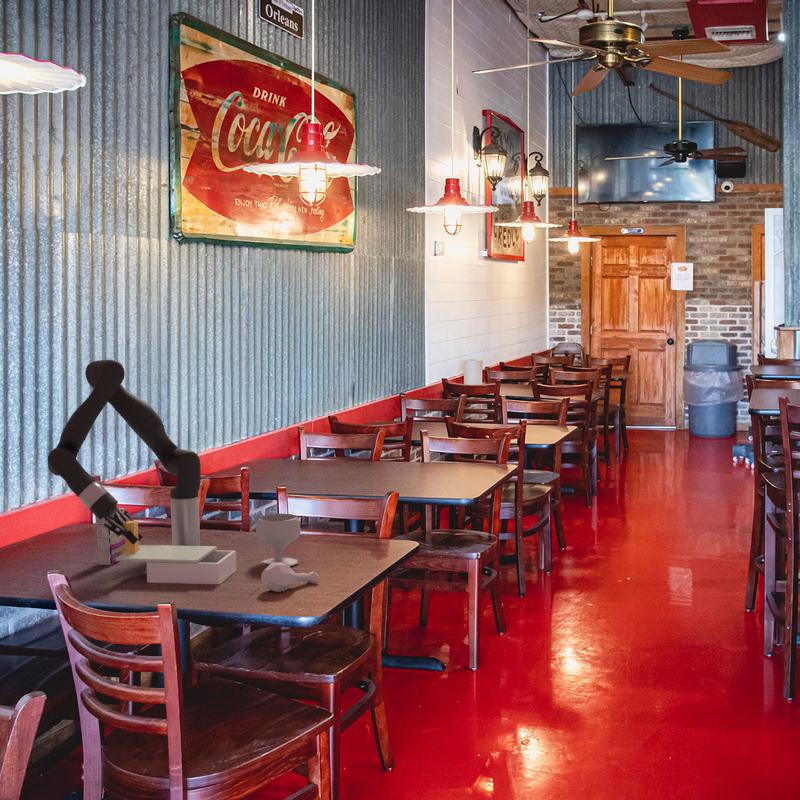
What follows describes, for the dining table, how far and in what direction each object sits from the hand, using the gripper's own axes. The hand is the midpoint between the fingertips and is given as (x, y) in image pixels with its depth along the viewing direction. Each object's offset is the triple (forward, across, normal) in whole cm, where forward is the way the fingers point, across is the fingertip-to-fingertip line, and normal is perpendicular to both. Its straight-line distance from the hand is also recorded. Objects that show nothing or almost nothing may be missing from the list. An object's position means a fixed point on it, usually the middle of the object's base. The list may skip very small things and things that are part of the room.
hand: (138, 540), depth 310 cm
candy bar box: (-4, +19, +20) cm, 28 cm away
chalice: (+35, +20, -18) cm, 44 cm away
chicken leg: (+43, -6, -26) cm, 50 cm away
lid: (+9, 0, -3) cm, 10 cm away
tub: (+20, 0, -4) cm, 20 cm away
